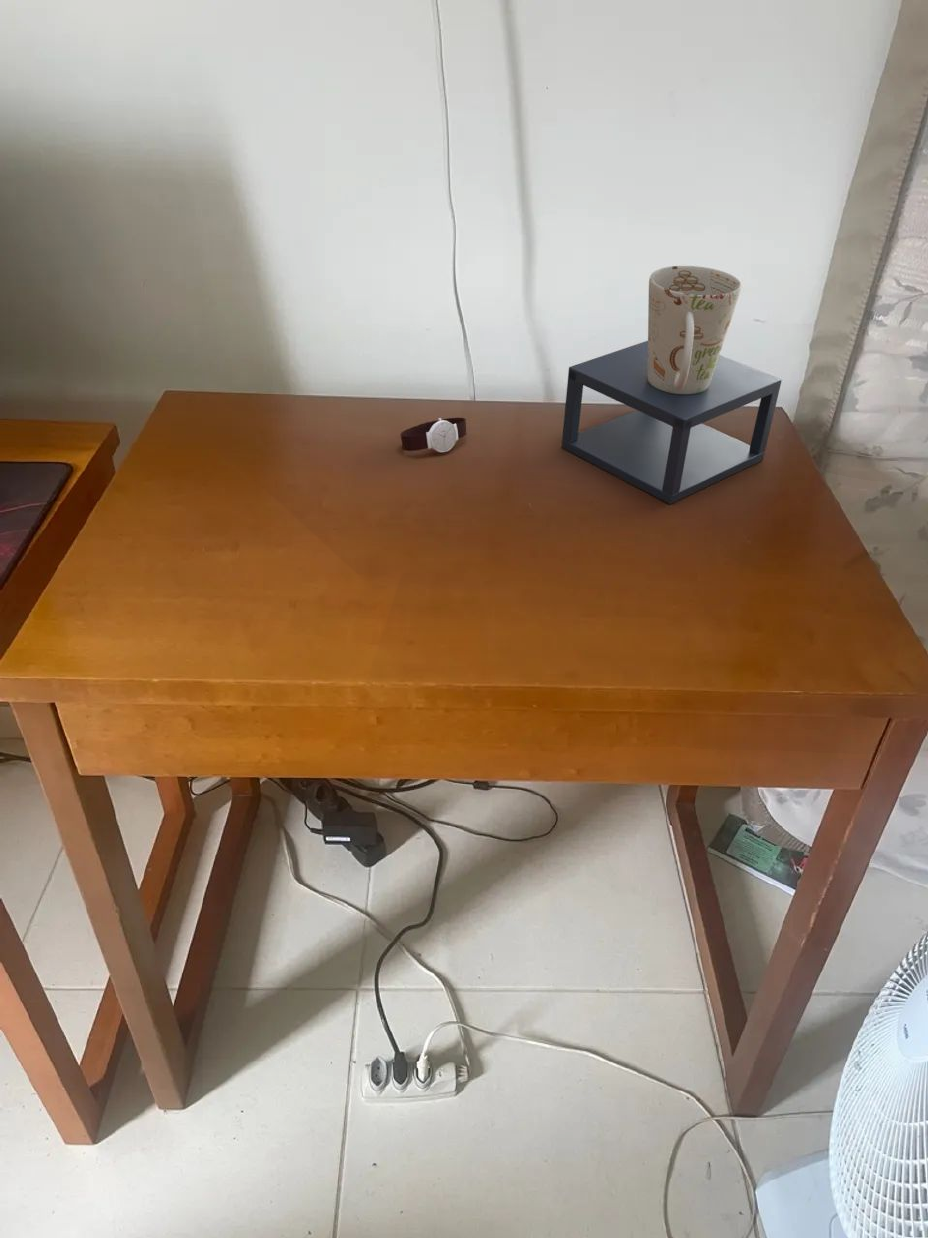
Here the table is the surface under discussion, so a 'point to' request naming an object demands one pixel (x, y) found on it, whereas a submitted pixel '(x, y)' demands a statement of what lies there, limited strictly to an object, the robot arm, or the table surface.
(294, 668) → the table surface
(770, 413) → the shelf
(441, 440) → the watch
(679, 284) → the mug
